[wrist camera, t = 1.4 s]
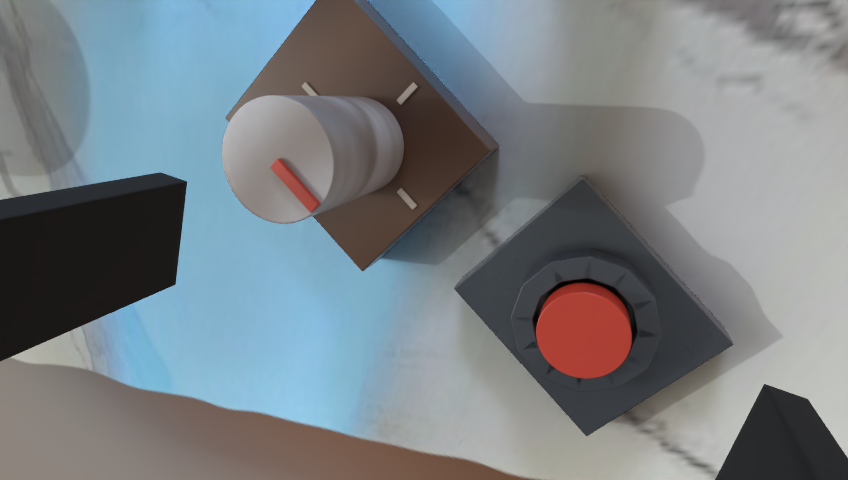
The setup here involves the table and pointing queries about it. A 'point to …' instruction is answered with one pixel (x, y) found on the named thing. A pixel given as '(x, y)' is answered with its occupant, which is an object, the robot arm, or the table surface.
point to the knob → (309, 153)
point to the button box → (602, 265)
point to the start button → (584, 330)
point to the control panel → (402, 95)
